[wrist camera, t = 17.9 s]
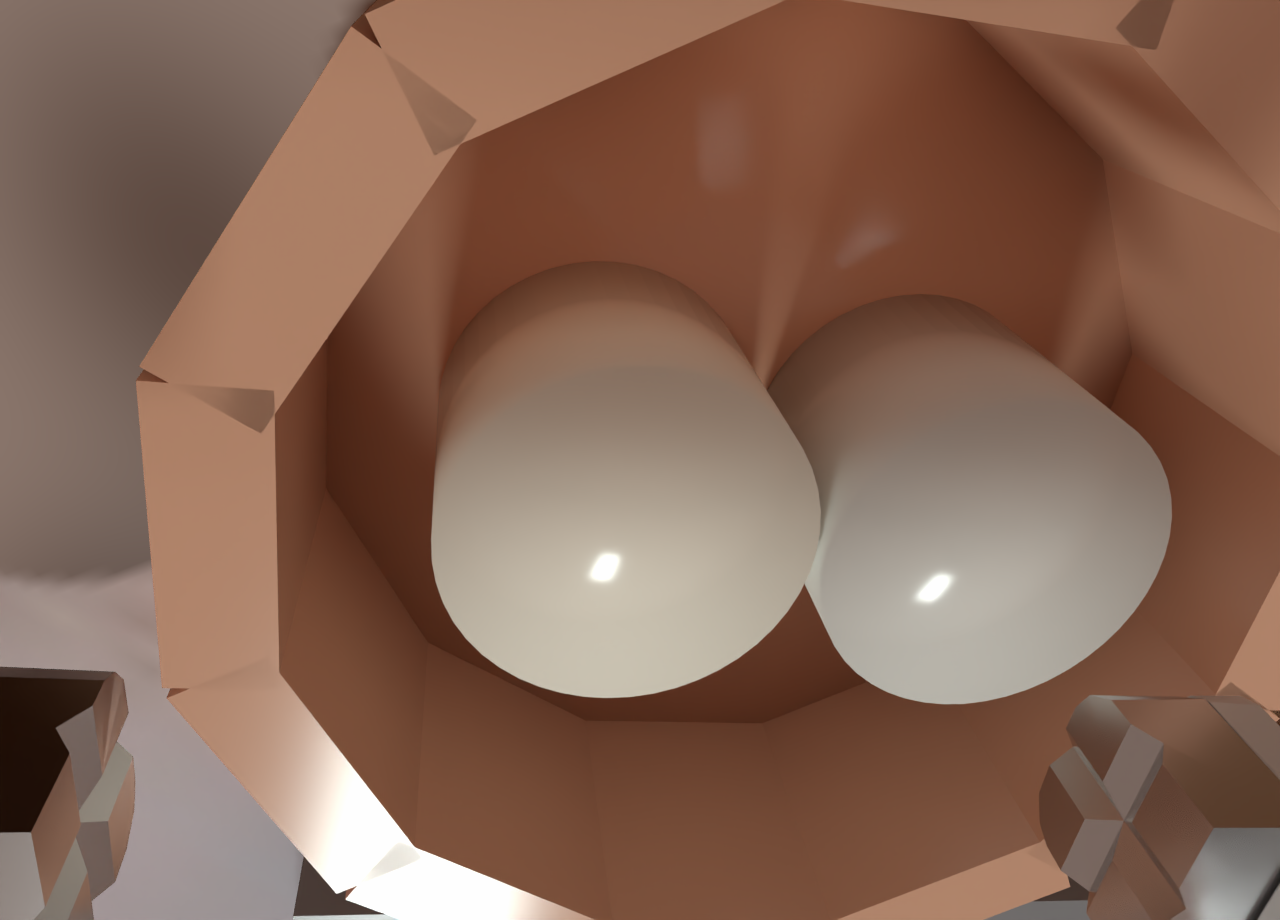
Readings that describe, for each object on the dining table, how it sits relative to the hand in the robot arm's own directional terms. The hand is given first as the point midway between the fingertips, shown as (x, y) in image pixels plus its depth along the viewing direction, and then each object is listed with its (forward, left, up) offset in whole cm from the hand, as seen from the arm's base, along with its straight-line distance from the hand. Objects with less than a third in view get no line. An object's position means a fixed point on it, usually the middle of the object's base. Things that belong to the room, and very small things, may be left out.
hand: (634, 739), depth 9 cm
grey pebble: (-5, 0, -7) cm, 8 cm away
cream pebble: (0, 0, -7) cm, 7 cm away
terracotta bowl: (-2, 0, -7) cm, 8 cm away
